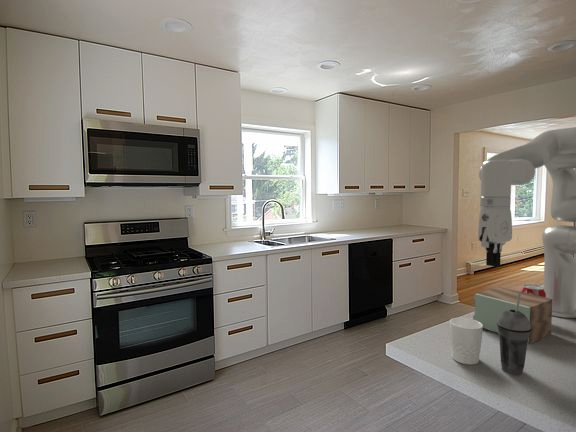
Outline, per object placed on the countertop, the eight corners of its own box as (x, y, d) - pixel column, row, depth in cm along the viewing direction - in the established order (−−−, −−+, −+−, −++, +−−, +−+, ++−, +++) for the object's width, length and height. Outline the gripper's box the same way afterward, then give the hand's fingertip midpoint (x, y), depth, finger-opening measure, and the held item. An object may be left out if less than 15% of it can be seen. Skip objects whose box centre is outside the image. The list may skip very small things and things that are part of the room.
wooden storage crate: (498, 317, 123) (499, 286, 122) (550, 333, 110) (552, 299, 109) (476, 325, 117) (477, 293, 116) (530, 343, 103) (531, 307, 102)
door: (474, 323, 117) (475, 293, 116) (529, 341, 103) (530, 307, 102) (470, 324, 116) (471, 294, 115) (525, 343, 102) (526, 308, 101)
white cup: (478, 354, 97) (479, 319, 97) (484, 368, 90) (485, 330, 89) (447, 350, 100) (448, 316, 99) (450, 363, 92) (451, 326, 92)
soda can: (549, 325, 115) (550, 290, 114) (525, 324, 117) (526, 289, 116) (538, 318, 122) (540, 284, 121) (516, 316, 124) (517, 283, 123)
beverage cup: (488, 364, 92) (491, 289, 90) (515, 362, 92) (518, 288, 91) (508, 379, 85) (511, 298, 83) (537, 377, 85) (540, 297, 83)
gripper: (494, 204, 94) (491, 271, 96) (522, 202, 102) (520, 264, 104) (467, 203, 101) (465, 266, 102) (496, 201, 108) (494, 260, 110)
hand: (493, 265), depth 103 cm, fingers closed
